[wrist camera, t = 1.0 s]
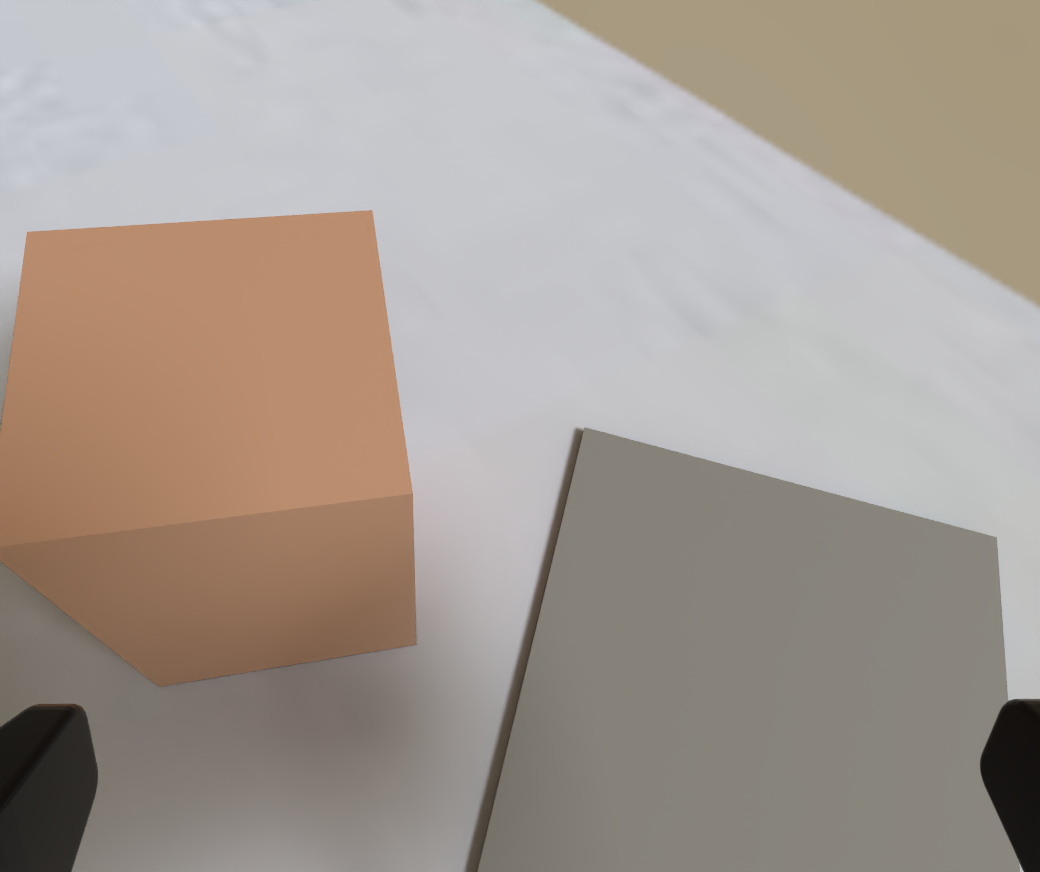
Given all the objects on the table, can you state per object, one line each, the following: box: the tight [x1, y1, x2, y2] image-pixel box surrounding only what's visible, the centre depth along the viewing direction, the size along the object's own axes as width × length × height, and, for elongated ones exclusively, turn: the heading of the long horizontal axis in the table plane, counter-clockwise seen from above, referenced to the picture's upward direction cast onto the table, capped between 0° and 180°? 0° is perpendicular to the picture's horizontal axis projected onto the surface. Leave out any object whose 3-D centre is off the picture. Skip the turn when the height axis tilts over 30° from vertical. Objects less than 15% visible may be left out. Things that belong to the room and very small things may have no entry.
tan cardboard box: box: [0, 210, 417, 687], centre depth 20 cm, size 7×7×10 cm
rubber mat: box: [477, 428, 1020, 872], centre depth 23 cm, size 14×14×1 cm
